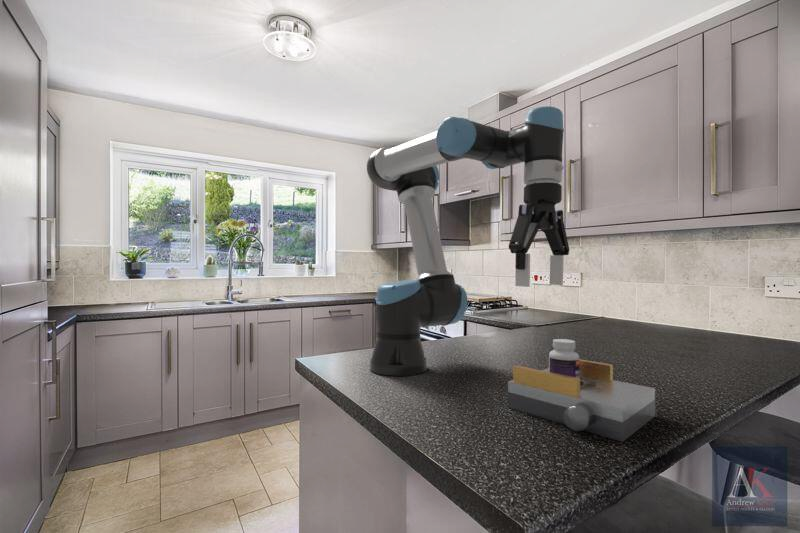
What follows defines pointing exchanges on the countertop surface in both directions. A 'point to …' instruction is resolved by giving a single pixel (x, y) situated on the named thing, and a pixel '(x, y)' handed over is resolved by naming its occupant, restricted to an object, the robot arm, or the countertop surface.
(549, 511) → the countertop surface
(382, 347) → the robot arm
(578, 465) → the countertop surface
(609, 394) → the grey clamp fixture
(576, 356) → the pill bottle
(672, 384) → the countertop surface
